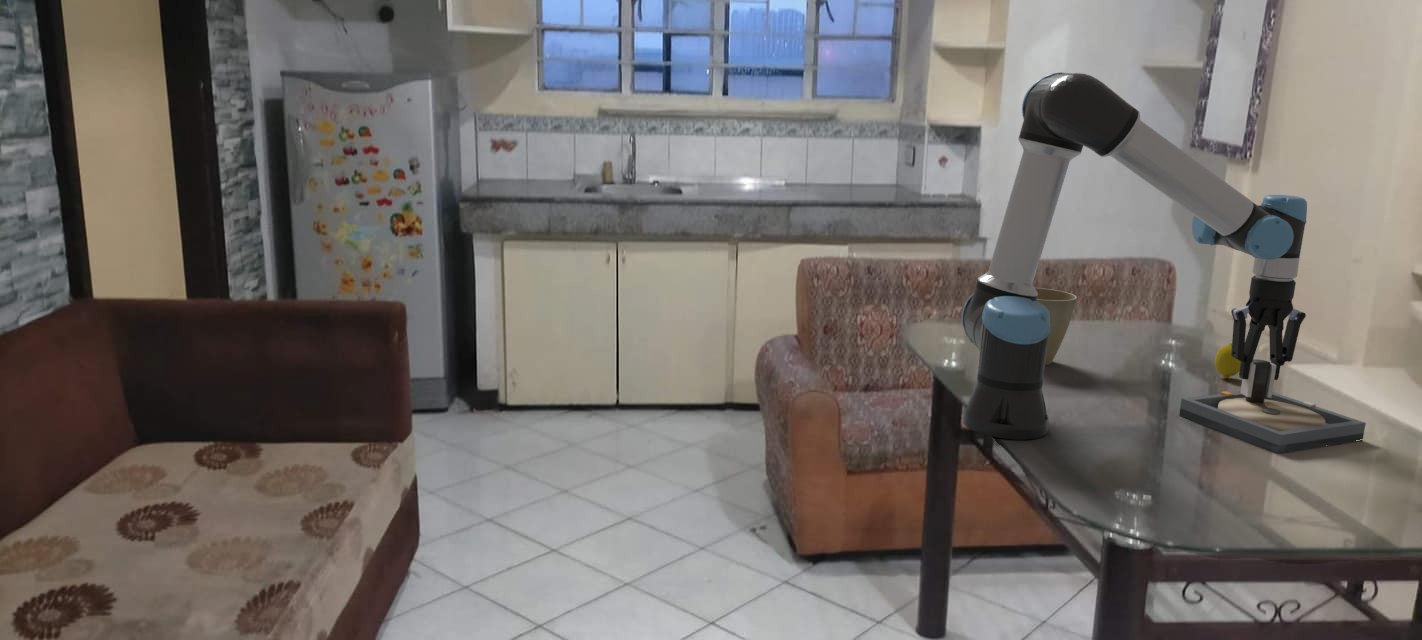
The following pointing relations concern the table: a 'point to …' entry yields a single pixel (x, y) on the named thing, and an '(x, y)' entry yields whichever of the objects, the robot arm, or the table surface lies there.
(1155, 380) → the table surface
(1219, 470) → the table surface
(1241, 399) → the dial
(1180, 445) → the table surface
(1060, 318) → the plant pot
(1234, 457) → the table surface
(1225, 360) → the lemon
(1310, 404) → the dial frame
